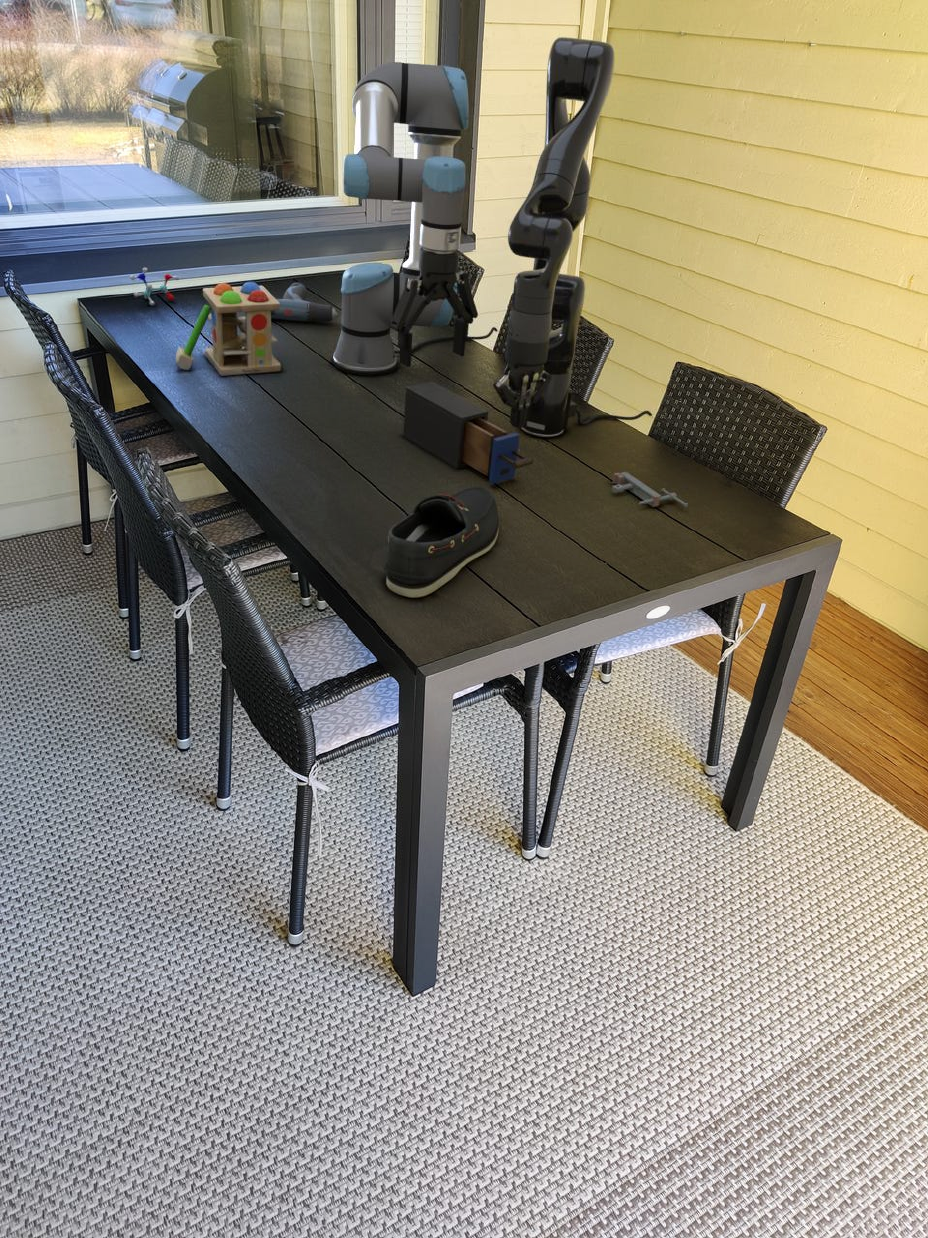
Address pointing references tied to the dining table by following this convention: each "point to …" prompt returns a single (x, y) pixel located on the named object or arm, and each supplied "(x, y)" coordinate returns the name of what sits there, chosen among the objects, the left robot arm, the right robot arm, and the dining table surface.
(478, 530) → the boat shoe
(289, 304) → the power drill
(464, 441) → the drawer
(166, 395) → the dining table surface
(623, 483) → the clamp
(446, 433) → the cabinet
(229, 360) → the pounding bench toy
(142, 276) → the molecular model
